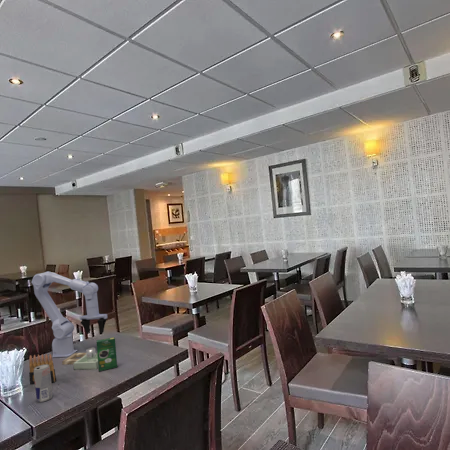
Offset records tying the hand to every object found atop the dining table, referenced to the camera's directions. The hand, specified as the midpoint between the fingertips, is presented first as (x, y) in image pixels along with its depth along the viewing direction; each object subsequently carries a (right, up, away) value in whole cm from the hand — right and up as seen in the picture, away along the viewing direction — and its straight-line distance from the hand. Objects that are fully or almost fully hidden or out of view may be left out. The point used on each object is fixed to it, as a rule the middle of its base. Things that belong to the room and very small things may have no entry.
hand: (95, 333), depth 172 cm
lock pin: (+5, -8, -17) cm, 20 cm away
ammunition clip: (-9, -11, -32) cm, 35 cm away
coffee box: (+15, -8, -24) cm, 29 cm away
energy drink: (-1, -10, -46) cm, 47 cm away
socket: (-5, -10, -9) cm, 14 cm away
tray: (+5, -9, -17) cm, 20 cm away
